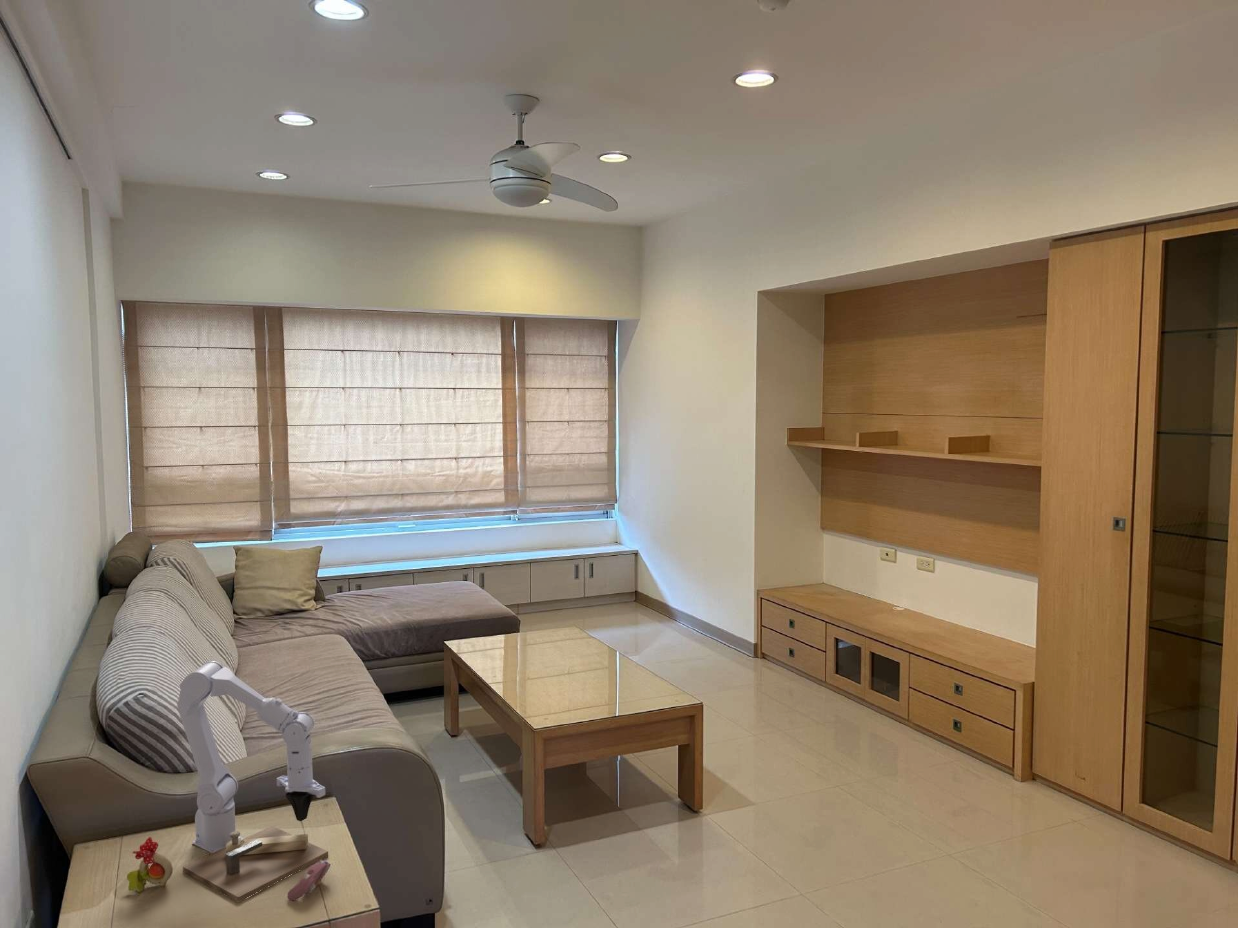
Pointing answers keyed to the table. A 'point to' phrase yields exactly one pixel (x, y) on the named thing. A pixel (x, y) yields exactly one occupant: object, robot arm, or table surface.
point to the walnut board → (253, 867)
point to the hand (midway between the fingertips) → (301, 818)
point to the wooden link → (269, 843)
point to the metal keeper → (234, 855)
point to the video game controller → (309, 880)
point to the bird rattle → (156, 872)
